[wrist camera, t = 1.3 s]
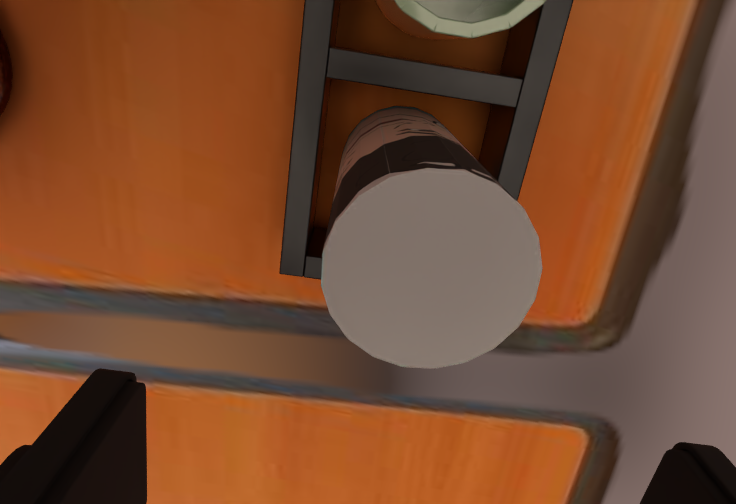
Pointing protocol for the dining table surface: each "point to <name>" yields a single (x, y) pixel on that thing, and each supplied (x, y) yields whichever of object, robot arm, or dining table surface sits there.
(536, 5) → the green tumbler
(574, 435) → the dining table surface
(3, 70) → the vase
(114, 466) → the robot arm
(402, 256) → the cup
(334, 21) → the cup stand
